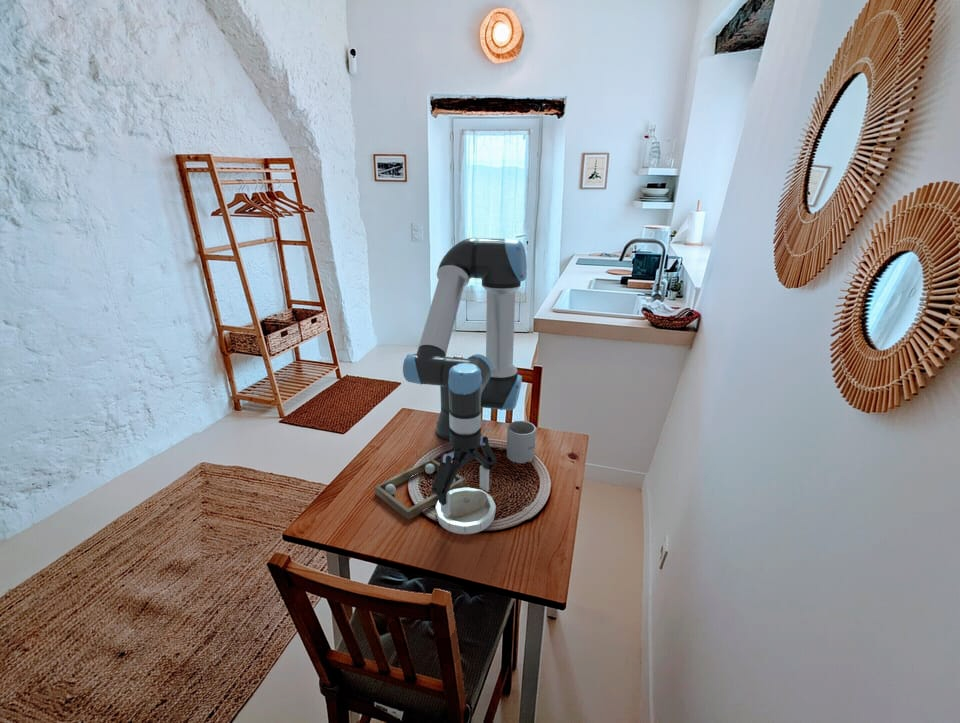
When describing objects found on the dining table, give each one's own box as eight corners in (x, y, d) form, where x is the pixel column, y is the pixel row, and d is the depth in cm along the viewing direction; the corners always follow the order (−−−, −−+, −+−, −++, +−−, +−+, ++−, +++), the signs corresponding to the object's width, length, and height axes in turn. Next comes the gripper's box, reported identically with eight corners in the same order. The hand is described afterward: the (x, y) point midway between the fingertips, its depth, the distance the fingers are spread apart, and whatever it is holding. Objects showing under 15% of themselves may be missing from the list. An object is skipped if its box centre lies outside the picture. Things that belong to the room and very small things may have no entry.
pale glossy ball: (430, 468, 141) (430, 460, 139) (437, 473, 139) (436, 464, 137) (422, 473, 139) (422, 464, 137) (429, 477, 137) (428, 468, 135)
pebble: (391, 489, 131) (391, 480, 130) (398, 494, 129) (397, 485, 128) (382, 494, 129) (382, 484, 128) (389, 499, 127) (388, 489, 126)
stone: (494, 500, 122) (458, 507, 114) (483, 516, 124) (448, 525, 116) (482, 483, 125) (447, 489, 117) (472, 499, 128) (437, 506, 120)
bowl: (466, 488, 132) (466, 480, 131) (506, 514, 122) (506, 505, 121) (424, 513, 122) (424, 505, 121) (464, 543, 112) (464, 535, 111)
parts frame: (431, 464, 142) (431, 457, 142) (465, 486, 133) (465, 478, 132) (375, 494, 129) (374, 486, 128) (408, 520, 119) (407, 512, 119)
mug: (524, 466, 142) (525, 437, 138) (501, 456, 147) (502, 428, 143) (545, 449, 151) (547, 421, 147) (522, 440, 156) (524, 413, 152)
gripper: (489, 405, 123) (488, 474, 131) (414, 440, 107) (417, 516, 114) (511, 415, 118) (508, 485, 126) (435, 453, 102) (438, 531, 110)
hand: (465, 500), depth 120 cm, fingers open, 13 cm apart
